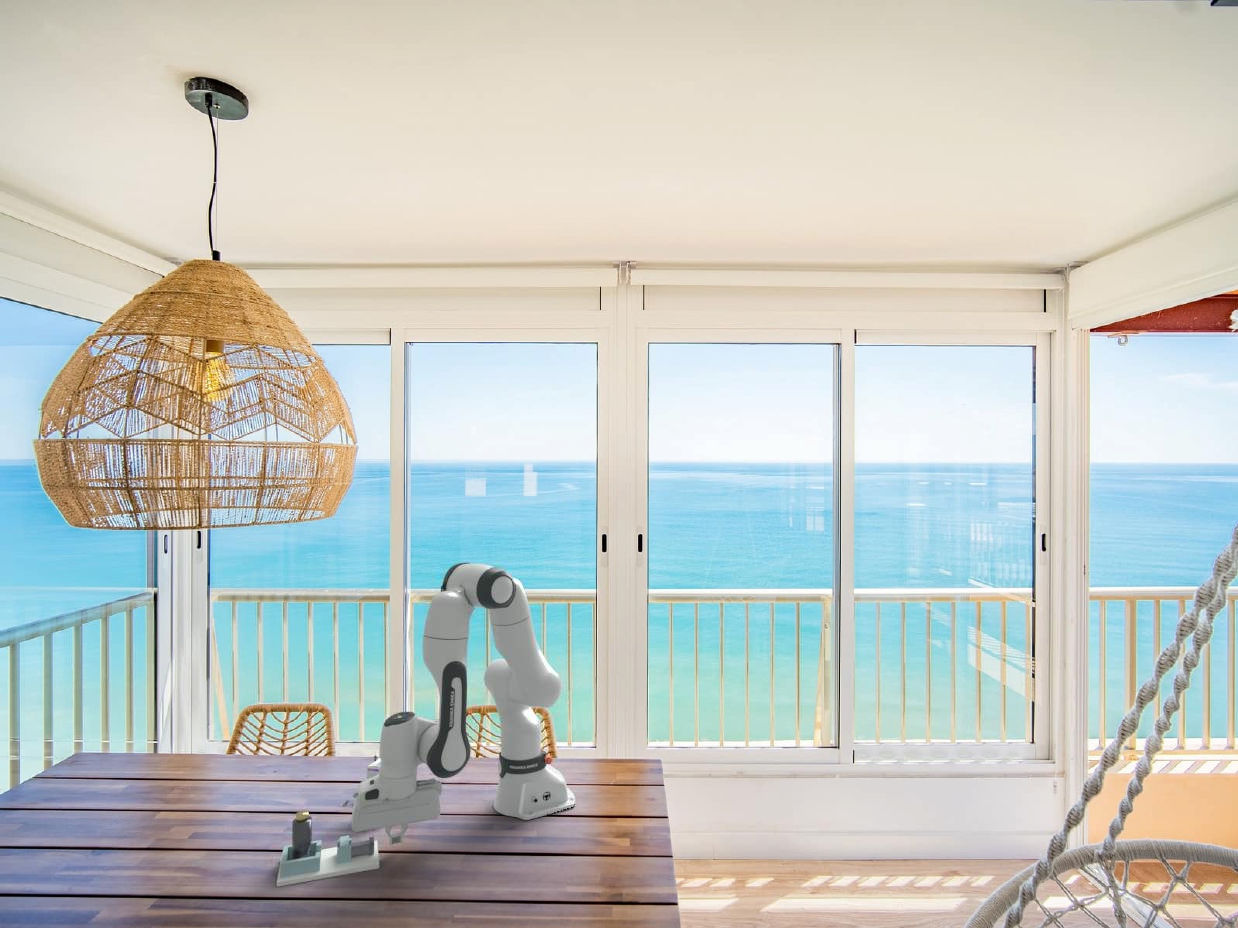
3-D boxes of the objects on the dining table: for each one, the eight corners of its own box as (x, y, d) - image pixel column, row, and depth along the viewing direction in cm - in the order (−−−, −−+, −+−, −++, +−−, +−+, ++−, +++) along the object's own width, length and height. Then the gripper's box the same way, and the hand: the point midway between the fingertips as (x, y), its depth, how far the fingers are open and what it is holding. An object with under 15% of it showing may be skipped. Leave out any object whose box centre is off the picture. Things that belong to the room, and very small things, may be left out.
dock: (377, 844, 164) (377, 824, 164) (379, 868, 154) (379, 847, 154) (281, 860, 156) (282, 839, 156) (276, 887, 146) (277, 864, 146)
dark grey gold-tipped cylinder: (311, 858, 155) (312, 807, 156) (310, 867, 152) (311, 815, 152) (292, 861, 154) (293, 810, 154) (290, 871, 150) (291, 818, 151)
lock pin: (373, 848, 160) (373, 836, 160) (373, 854, 157) (374, 842, 158) (337, 855, 157) (337, 842, 157) (336, 860, 154) (337, 848, 155)
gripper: (440, 772, 168) (438, 828, 167) (352, 784, 160) (350, 843, 160) (443, 782, 162) (442, 841, 161) (352, 795, 154) (350, 857, 154)
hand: (395, 842), depth 160 cm, fingers closed
